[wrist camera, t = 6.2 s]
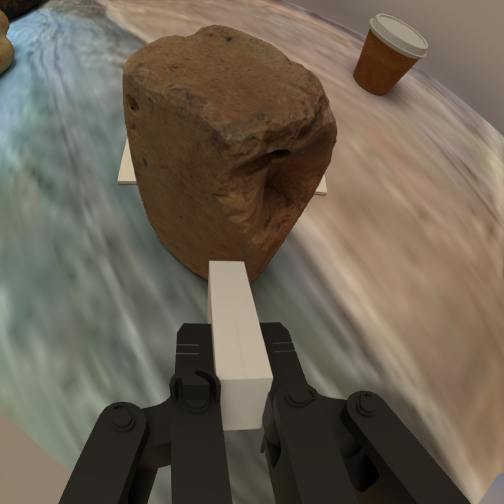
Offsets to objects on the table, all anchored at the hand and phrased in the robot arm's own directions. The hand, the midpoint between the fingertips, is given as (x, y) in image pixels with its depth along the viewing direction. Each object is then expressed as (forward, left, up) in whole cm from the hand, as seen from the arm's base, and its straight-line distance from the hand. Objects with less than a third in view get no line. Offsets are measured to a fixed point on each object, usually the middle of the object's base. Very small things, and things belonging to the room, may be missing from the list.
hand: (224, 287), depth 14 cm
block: (0, -7, -14) cm, 16 cm away
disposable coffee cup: (-24, -36, -14) cm, 46 cm away
